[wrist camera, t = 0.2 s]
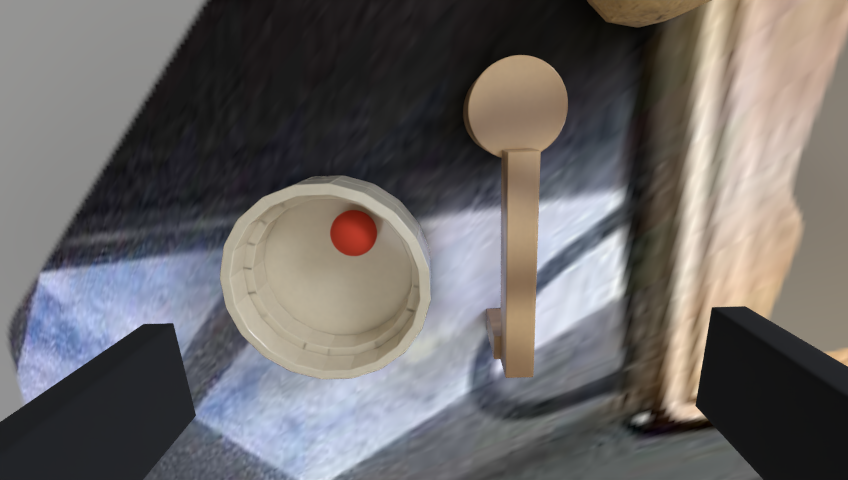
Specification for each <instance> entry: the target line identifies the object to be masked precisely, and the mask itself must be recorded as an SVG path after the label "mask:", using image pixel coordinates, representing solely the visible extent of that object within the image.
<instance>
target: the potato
mask: <svg viewBox="0 0 848 480" xmlns="http://www.w3.org/2000/svg"><path fill="white" fill-rule="evenodd" d="M709 1H711V0H587V2H588V3H589V4H590V5H591V6H592V7H593V8H594V9H595V10H596V11H597V12H598V14H599V15H600V16H601V17H602V18H603V19H604V20H605V21H606V22H609V23H615V24H620V25H626V26H632V27H637V28H638V27H642V26H647V25H651V24H655V23H659V22H664V21H666V20H669V19H671V18H674V17H676V16H679V15H681V14H683V13H685V12H687V11H689V10H692V9H694V8H696V7H698V6H700V5H702V4H704V3H707V2H709Z"/></svg>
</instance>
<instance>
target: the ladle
mask: <svg viewBox="0 0 848 480" xmlns="http://www.w3.org/2000/svg"><path fill="white" fill-rule="evenodd" d="M567 109H568V98H567V92H566V88H565V85H564V83H563V81H562V79H561V77H560V76H559V74H558V73H557V72H556V70H555V69H554V68H553V67H551V66H550V65H549V64H548V63H546V62H545V61H543V60H541V59H539V58H536V57H533V56H527V55H515V56H510V57H506V58H503V59H501V60H499V61H497V62H495V63H493V64H492V65H491V66H489V67H488V68H487V69H486V70H485V71H484V72H483V73H482V74H481V75H480V76H479V77H478V78H477V79H476V80H475V81H474V83H473V84H472V85H471V87H470V89H469V90H468V92H467V95H466V97H465V101H464V105H463V120H464V124H465V127H466V130H467V132H468V134H469V136H470V137H471V138H472V140H473V141H474V142H475V143H476V144H477V145H478V146H480V147H481V148H483V149H484V150H486V151H488V152H490V153H491V154H493V155H496V156H498V157H501V158H502V167H501V308H496V309H486V317H487V332H488V336H489V340H490V344H491V349H492V353H493V357H494V359H501V362H502V366H503V370H504V373H505V377H506V378H513V377H533V370H534V339H535V307H536V276H537V244H538V213H539V182H540V152H542V151H543V150H544V149H546V148H547V147H548V146H549V145H550V144H552V142H553V141H554V140H555V139H556V138H557V136H558V135H559V133H560V131H561V129H562V128H563V125H564V123H565V120H566V116H567Z"/></svg>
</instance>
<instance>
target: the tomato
mask: <svg viewBox="0 0 848 480" xmlns="http://www.w3.org/2000/svg"><path fill="white" fill-rule="evenodd" d="M330 237H331V240H332V243H333V245H334V246H335V248H336V249H337V250H338V251H340V252H341V253H343V254H345V255H348V256H360V255H363V254H365V253H367V252H368V251H369V250H370V249H371V248H372V247H373V246H374V244H375V242H376V238H377V228H376V225H375V222H374V221H373V219H372V218H371V217H370V216H369V215H368V214H366V213H364V212H362V211H359V210H349V211H345V212H343V213H341V214H340V215H338V216H337V217H336V218H335V220H334V221H333V223H332V226H331V230H330Z"/></svg>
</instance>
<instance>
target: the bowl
mask: <svg viewBox="0 0 848 480" xmlns="http://www.w3.org/2000/svg"><path fill="white" fill-rule="evenodd" d="M349 210H359V211H362V212H364V213H366V214H368V215H369V216H370V217H371V218H372V219H373V221H374V222H375V225H376V228H377V238H376V242H375V244H374V246H373V247H372V248H371V249H370V250H369V251H368V252H367V253H365V254H363V255H360V256H348V255H345V254H343V253H341V252H340V251H338V250H337V249H336V248H335V246H334V245H333V243H332V240H331V237H330V230H331V226H332V223H333V221H334V220H335V218H336V217H337V216H338V215H340V214H341V213H343V212H345V211H349ZM220 281H221V286H222V291H223V295H224V300H225V305H226V308H227V310H228V312H229V314H230V315H231V317H232V319H233V321H234V323H235V324H236V326H237V328H238V330H239V331H240V333H241V334H242V336H243V337H244V338H245V339H246V340H247V341H248V342H249V343H250V344H252V345H253V346H254V347H255V348H256V349H257V350H258V351H259V352H260V353H261V354H262V355H263V356H264V357H265V358H267V359H269V360H271V361H273V362H274V363H276V364H278V365H280V366H282V367H284V368H285V369H287V370H289V371H292V372H295V373H299V374H303V375H307V376H311V377H315V378H319V379H349V378H355V377H358V376H361V375H365V374H368V373H371V372H374V371H377V370H380V369H382V368H383V367H385V366H386V365H387V364H389V363H390V362H392V361H393V360H395V359H396V358H397V357H399V356H400V355H402V354H403V353H404V352H405V351H406V350H407V349H408V347H409V346H410V345H411V343H412V342H413V341H414V339H415V338H416V336H417V335H418V334H419V332H420V331H421V330H422V327H423V324H424V321H425V318H426V314H427V311H428V308H429V304H430V300H431V261H430V250H429V247H428V245H427V242H426V240H425V237H424V235H423V232H422V229H421V227H420V225H419V223H418V222H417V221H416V219H415V218H414V217H413V216H412V214H411V213H410V212H409V211H408V210H407V208H406V207H405V206H404V205H403V204H402V202H401V201H399V200H398V199H397V198H395V197H394V196H392V195H391V194H389V193H387V192H386V191H384V190H383V189H381V188H380V187H378V186H377V185H375V184H373V183H369V182H366V181H362V180H358V179H355V178H351V177H347V176H342V175H339V176H318V177H310V178H308V179H305V180H303V181H300V182H298V183H295V184H293V185H290V186H288V187H285V188H283V189H280V190H278V191H276V192H274V193H271V194H269V195H267V196H264V197H263V198H261V199H260V200H259V201H258V202H257V203H255V204H254V205H253V206H252V207H251V208H250V209H249V210H248V211H246V212H245V213H244V214H243V215H242V216H241V217H240V218H239V219H238V220H237V222H236V224H235V226H234V227H233V229H232V231H231V233H230V235H229V237H228V239H227V241H226V243H225V245H224V248H223V256H222V263H221V271H220Z"/></svg>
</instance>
